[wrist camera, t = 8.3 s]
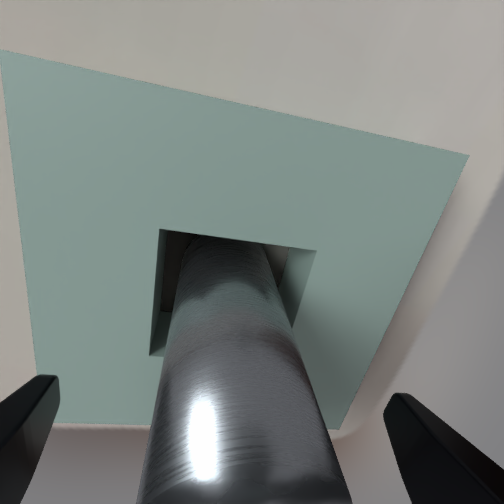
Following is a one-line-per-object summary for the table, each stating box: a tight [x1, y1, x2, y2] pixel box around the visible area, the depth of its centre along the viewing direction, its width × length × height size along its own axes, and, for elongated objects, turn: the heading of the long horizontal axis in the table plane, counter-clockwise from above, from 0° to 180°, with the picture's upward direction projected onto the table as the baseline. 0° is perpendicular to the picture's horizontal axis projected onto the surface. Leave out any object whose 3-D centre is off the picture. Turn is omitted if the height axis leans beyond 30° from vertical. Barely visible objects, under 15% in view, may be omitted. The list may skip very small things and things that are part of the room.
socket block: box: [0, 49, 470, 430], centre depth 13 cm, size 14×14×3 cm
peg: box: [136, 234, 352, 504], centre depth 10 cm, size 4×4×10 cm
